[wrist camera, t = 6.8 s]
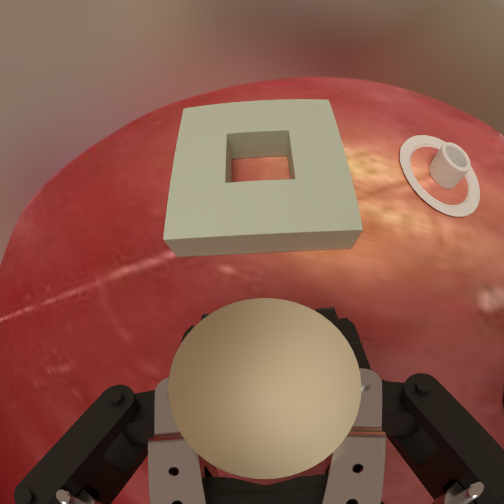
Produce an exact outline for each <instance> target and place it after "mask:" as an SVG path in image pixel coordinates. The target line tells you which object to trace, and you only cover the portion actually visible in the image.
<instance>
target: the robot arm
mask: <svg viewBox="0 0 504 504" xmlns="http://www.w3.org/2000/svg"><path fill="white" fill-rule="evenodd" d="M316 312H318V313H319V314H321V315H322V316H324V317H325V318H326V319H328V320H329V321H330V322H331V323H332V324H333V325H334V326H335V327H336V328H337V329H339V331H340V332H341V333H342V334H343V336H344V337H345V338H346V340H347V341H348V343H349V345H350V346H351V348H352V350H353V352H354V355H355V357H356V360H357V362H358V366H359V370H360V376H361V400H360V405H359V410H358V413H357V416H356V419H355V422H354V424H353V426H352V428H351V430H350V432H349V433H348V435H347V436H346V438H345V439H344V441H343V442H342V443H341V444H340V445H339V446H338V448H337V449H336V450H335V451H334V452H333V453H331V454H330V455H329V456H328V457H327V458H326V463H325V467H324V471H323V474H322V475H314V476H303V477H298V478H294V479H291V480H287V481H283V482H280V483H276V484H271V485H260V484H255V483H251V482H247V481H243V480H239V479H235V478H225V477H219V475H218V472H217V469H216V467H215V466H214V465H212V464H211V463H209V462H207V461H206V460H205V459H203V458H202V457H201V456H200V455H198V454H197V453H196V452H195V451H194V450H193V449H192V448H191V447H190V446H189V444H188V443H187V442H186V440H185V439H184V438H183V436H182V435H181V433H180V431H179V429H178V427H177V426H176V423H175V421H174V418H173V415H172V412H171V408H170V404H169V394H168V384H169V377H168V378H166V379H164V380H162V381H161V382H160V383H159V384H158V385H157V387H156V389H155V390H153V391H148V392H142V393H136V394H134V393H133V391H132V390H131V389H130V388H129V387H127V386H125V385H115V386H112V387H110V388H108V389H107V390H105V391H104V392H103V393H102V395H101V396H100V397H99V398H98V399H97V400H96V401H95V402H94V403H93V404H92V405H91V406H90V407H89V408H88V409H87V411H86V412H85V413H84V414H83V415H82V416H81V417H80V418H79V419H78V420H77V421H76V422H75V423H74V424H73V426H72V427H71V428H70V429H69V430H68V431H67V432H66V433H65V434H64V435H63V436H62V437H61V438H60V440H59V441H58V442H57V443H56V444H55V445H54V446H53V447H52V448H51V449H50V450H49V451H48V453H47V454H46V455H45V456H44V457H43V458H42V459H41V460H40V461H39V462H38V464H37V465H36V466H35V467H34V468H33V469H32V470H31V471H30V472H29V473H28V474H27V476H26V477H25V478H24V479H23V480H22V481H21V482H20V483H19V484H18V486H17V487H16V489H15V492H14V500H15V503H16V504H111V503H112V502H113V500H114V499H115V498H116V496H117V495H118V494H119V492H120V491H121V490H122V489H123V487H124V486H125V485H126V483H127V482H128V481H129V479H130V478H131V477H132V475H133V474H134V473H135V471H136V470H137V469H138V467H139V466H140V465H141V463H142V462H143V461H144V459H145V458H146V457H147V455H148V472H149V494H150V504H384V503H383V502H382V501H381V497H382V488H383V478H384V467H385V451H386V436H387V437H388V439H389V440H390V441H391V443H392V444H393V445H394V447H395V448H396V449H397V451H398V452H399V453H400V455H401V456H402V457H403V459H404V460H405V461H406V463H407V464H408V465H409V467H410V468H411V469H412V471H413V472H414V473H415V475H416V476H417V477H418V479H419V480H420V481H421V483H422V484H423V485H424V487H425V488H426V489H427V491H428V492H429V493H430V495H431V496H432V497H433V499H434V502H433V504H504V450H503V449H502V448H501V447H500V446H499V444H498V443H497V442H496V441H495V440H494V439H493V438H492V437H491V436H490V435H489V434H488V433H487V431H486V430H485V429H484V428H483V427H482V426H481V425H480V424H479V423H478V422H477V421H476V420H475V419H474V418H473V417H472V416H471V415H470V414H469V412H468V411H467V410H466V409H465V408H464V407H463V406H462V405H461V404H460V403H459V402H458V401H457V400H456V399H455V398H454V397H453V396H452V395H451V394H450V393H449V392H448V391H447V390H446V389H445V388H444V387H443V386H442V385H441V384H440V383H439V382H438V381H437V380H436V379H435V378H434V377H432V376H430V375H428V374H423V373H419V374H415V375H412V376H410V377H409V378H408V379H407V380H406V382H405V383H399V382H388V381H384V380H382V379H381V378H380V377H379V375H378V374H376V373H375V372H374V371H372V370H371V369H370V366H369V363H368V360H367V358H366V355H365V352H364V349H363V347H362V344H361V343H360V338H359V336H358V333H357V330H356V328H355V325H354V324H353V323H352V322H351V321H349V320H348V319H347V318H341V319H338V317H337V314H336V311H335V308H334V307H331V308H319V309H316ZM208 315H210V314H203V315H202V318H201V320H203V319H204V318H205V317H207V316H208ZM194 327H195V326H191V327H190V328H189V329H188V330H187V331H186V332H185V333H184V336H183V338H182V341H181V343H182V342H183V340H184V339H185V337H186V336H187V335H188V334H189V332H190V331H191V330H192V329H193V328H194ZM180 345H181V344H180Z"/></svg>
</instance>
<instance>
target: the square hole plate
mask: <svg viewBox="0 0 504 504" xmlns="http://www.w3.org/2000/svg"><path fill="white" fill-rule="evenodd" d="M273 156H288V164H289V172H290V179H284V180H263V181H246V182H232V159H239V158H254V157H273ZM362 231H363V228H362V223H361V218H360V213H359V208H358V203H357V199H356V195H355V190H354V186H353V182H352V178H351V174H350V170H349V166H348V162H347V158H346V155H345V151H344V148H343V144H342V141H341V137H340V134H339V130H338V127H337V124H336V121H335V118H334V114H333V111H332V108H331V105H330V102H329V100H311V99H294V100H262V101H246V102H234V103H223V104H214V105H206V106H198V107H191V108H184V110H183V115H182V120H181V125H180V130H179V135H178V140H177V146H176V151H175V157H174V163H173V169H172V176H171V182H170V189H169V196H168V204H167V212H166V220H165V229H164V238H163V240H164V241H165V242H166V244H167V245H168V246H169V247H170V248H171V249H172V251H173V252H174V253H175V254H176V255H177V256H178V257H187V256H208V255H229V254H250V253H270V252H291V251H311V250H332V249H351V248H352V246H353V245H354V243H355V242H356V240H357V238H358V237H359V235H360V234H361V232H362Z"/></svg>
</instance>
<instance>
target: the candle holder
mask: <svg viewBox="0 0 504 504" xmlns="http://www.w3.org/2000/svg"><path fill="white" fill-rule="evenodd" d="M425 146H427V147H434V148H437V149H439V151H438V153H437V154H436V156H435V157H434V159H433V160H432V162H431V164H430V166H429V172H430V175H431V177H432V179H433V180H434V181H435V182H436V183H437V184H438V185H439V186H440V187H442V188H445V189H453V188H454V187H455V186H456V185H457V184H458V183H459V182H460V181H461V179H462V178H463V177H464V176H465V177H466V179H467V183H468V195H467V197H466V199H465V200H464V201H463V202H462V203H460V204H458V205H448V204H445V203H442V202H440V201H438V200H436V199H435V198H433V197H432V196H430V195H429V194H428V193H427V192H426V191H425V190H424V189H423V188H422V187H421V186H420V184H419V183H418V181H417V180H416V178H415V176H414V174H413V172H412V168H411V156H412V154H413V152H414V151H415V150H416V149H418V148H420V147H425ZM400 163H401V166H402V169H403V172H404V174H405V176H406V178H407V180H408V181H409V183H410V185H411V186H412V187H413V189H414V190H415V191H416V192H417V194H418V195H419V196H420V197H421V198H422V199H423V200H424V201H426V202H427V203H428V204H429V205H430V206H432V207H433V208H435V209H436V210H438V211H440V212H442V213H444V214H447V215H450V216H455V217H463V216H467V215H469V214H471V213H473V212H474V211H475V209H476V208H477V206H478V204H479V200H480V188H479V183H478V180H477V177H476V175H475V173H474V171H473V169H472V167H471V166H470V160H469V157H468V156H467V154H466V153H465V152H464V150H463V149H462V148H460V147H459V146H458V145H456V144H454V143H450V142H447V143H446V142H444V141H442V140H440V139H438V138H435V137H432V136H427V135H418V136H413V137H411V138H409V139H408V140H406V141H405V142H404V144H403V145H402V147H401V148H400Z"/></svg>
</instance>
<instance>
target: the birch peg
mask: <svg viewBox="0 0 504 504" xmlns="http://www.w3.org/2000/svg"><path fill="white" fill-rule="evenodd" d="M168 394H169V404H170V408H171V412H172V415H173V418H174V421H175V423H176V426H177V427H178V429H179V431H180V433H181V435H182V436H183V438H184V439H185V440H186V442H187V443H188V444H189V446H190V447H191V448H192V449H193V450H194V451H195V452H196V453H197V454H198V455H200V456H201V457H202V458H203V459H205V460H206V461H207V462H209V463H211V464H212V465H214V466H215V467H217V468H219V469H221V470H224V471H226V472H228V473H231V474H234V475H238V476H241V477H247V478H253V479H274V478H282V477H287V476H291V475H294V474H297V473H300V472H303V471H305V470H307V469H309V468H311V467H313V466H315V465H317V464H318V463H320V462H321V461H323V460H324V459H326V458H327V457H328V456H329V455H330V454H331V453H333V452H334V451H335V450H336V449H337V448H338V446H339V445H340V444H341V443H342V442H343V441H344V439H345V438H346V436H347V435H348V433H349V432H350V430H351V428H352V426H353V424H354V422H355V419H356V416H357V413H358V410H359V405H360V400H361V376H360V370H359V366H358V362H357V360H356V357H355V355H354V352H353V350H352V348H351V346H350V345H349V343H348V341H347V340H346V338H345V337H344V336H343V334H342V333H341V332H340V331H339V329H337V328H336V327H335V326H334V325H333V324H332V323H331V322H330V321H329V320H328V319H326V318H325V317H324V316H322V315H321V314H319V313H318V312H316V311H314V310H312V309H310V308H308V307H306V306H303V305H301V304H298V303H295V302H291V301H288V300H282V299H275V298H256V299H248V300H243V301H239V302H235V303H232V304H230V305H227V306H224V307H222V308H220V309H218V310H216V311H215V312H213V313H211V314H210V315H208V316H207V317H205V318H204V319H203V320H201V321H200V322H199V323H198V324H197V325H196V326H195V327H194V328H193V329H192V330H191V331H190V332H189V334H188V335H187V336H186V337H185V339H184V340H183V342H182V343H181V345H180V346H179V348H178V350H177V353H176V355H175V357H174V360H173V363H172V366H171V369H170V375H169V384H168Z"/></svg>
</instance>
